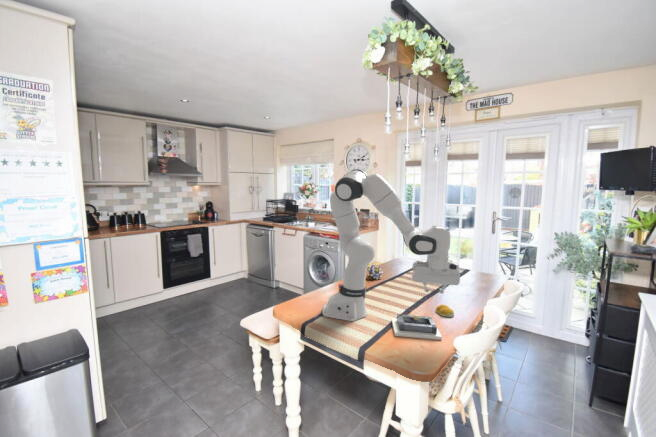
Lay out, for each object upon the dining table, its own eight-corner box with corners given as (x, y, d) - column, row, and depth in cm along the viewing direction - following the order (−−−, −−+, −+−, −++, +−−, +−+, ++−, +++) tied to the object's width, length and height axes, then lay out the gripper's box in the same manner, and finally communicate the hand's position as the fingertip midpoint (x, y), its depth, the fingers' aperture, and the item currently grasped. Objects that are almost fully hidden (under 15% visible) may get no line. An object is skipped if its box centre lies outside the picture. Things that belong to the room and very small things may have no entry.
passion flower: (376, 287, 205) (372, 276, 198) (365, 279, 213) (360, 268, 206) (387, 276, 209) (383, 265, 202) (375, 269, 217) (372, 258, 210)
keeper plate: (394, 335, 132) (395, 320, 131) (391, 320, 146) (392, 306, 145) (441, 339, 130) (443, 324, 129) (433, 324, 144) (434, 310, 143)
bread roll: (442, 318, 152) (443, 310, 151) (433, 310, 160) (434, 303, 160) (457, 317, 153) (458, 310, 152) (447, 309, 162) (448, 302, 161)
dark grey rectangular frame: (399, 330, 134) (400, 324, 134) (396, 320, 144) (397, 314, 143) (436, 333, 132) (437, 327, 132) (431, 323, 142) (431, 317, 142)
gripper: (414, 262, 131) (411, 292, 133) (463, 266, 129) (459, 297, 131) (412, 258, 137) (409, 287, 139) (458, 262, 136) (454, 291, 137)
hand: (433, 292), depth 135 cm, fingers open, 5 cm apart
